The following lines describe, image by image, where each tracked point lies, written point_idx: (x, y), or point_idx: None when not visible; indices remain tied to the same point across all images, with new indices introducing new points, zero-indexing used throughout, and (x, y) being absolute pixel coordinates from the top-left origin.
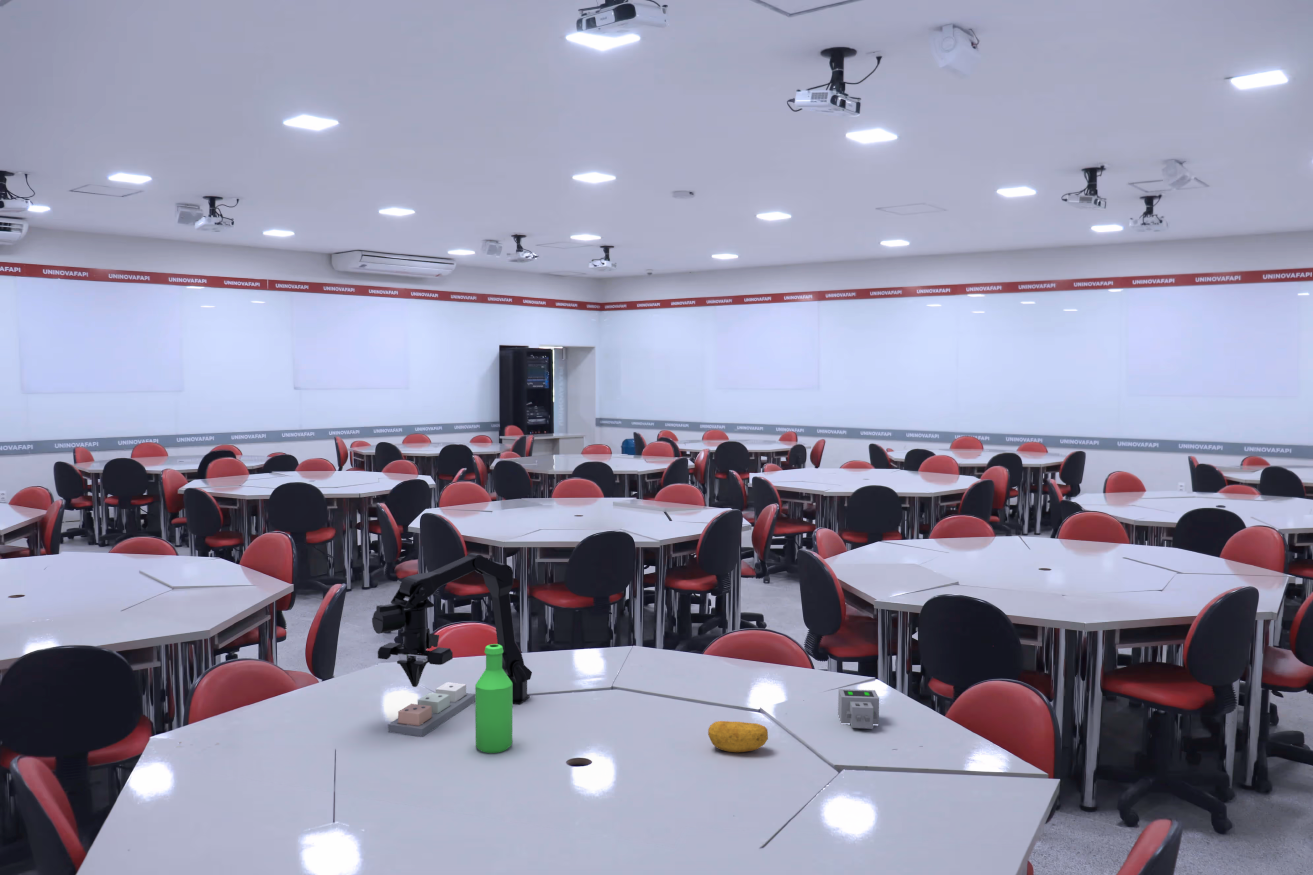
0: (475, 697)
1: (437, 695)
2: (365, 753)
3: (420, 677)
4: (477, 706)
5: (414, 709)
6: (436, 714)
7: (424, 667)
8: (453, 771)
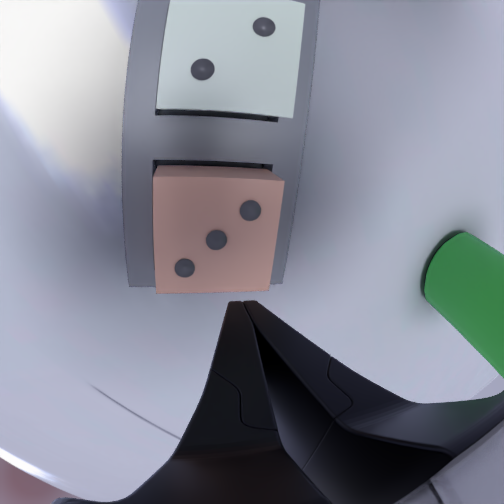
0: (500, 365)
1: (241, 16)
2: (178, 389)
3: (300, 336)
4: (488, 361)
5: (218, 248)
6: (272, 129)
7: (387, 392)
8: (386, 371)
